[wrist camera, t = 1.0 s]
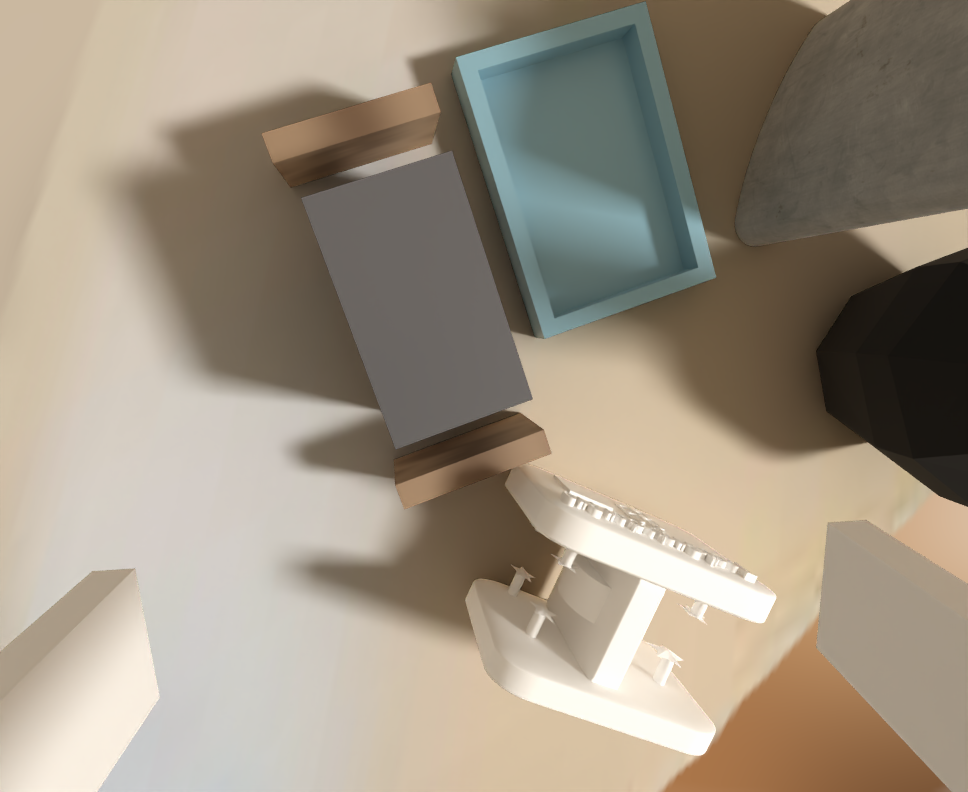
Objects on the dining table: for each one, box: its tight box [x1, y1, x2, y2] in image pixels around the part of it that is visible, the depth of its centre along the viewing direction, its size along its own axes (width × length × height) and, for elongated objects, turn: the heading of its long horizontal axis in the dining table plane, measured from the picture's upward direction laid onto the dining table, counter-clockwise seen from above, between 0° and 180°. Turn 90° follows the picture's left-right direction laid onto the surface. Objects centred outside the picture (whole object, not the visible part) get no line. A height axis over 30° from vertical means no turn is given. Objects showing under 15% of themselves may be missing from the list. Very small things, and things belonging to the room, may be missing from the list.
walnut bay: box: [262, 83, 552, 509], centre depth 35 cm, size 9×21×6 cm, turn 19°
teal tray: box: [451, 1, 716, 339], centre depth 38 cm, size 12×17×2 cm
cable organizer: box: [465, 463, 776, 755], centre depth 37 cm, size 15×11×12 cm
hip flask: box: [735, 0, 968, 246], centre depth 31 cm, size 16×4×20 cm, turn 159°
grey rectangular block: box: [301, 151, 533, 449], centre depth 33 cm, size 7×12×11 cm, turn 19°
